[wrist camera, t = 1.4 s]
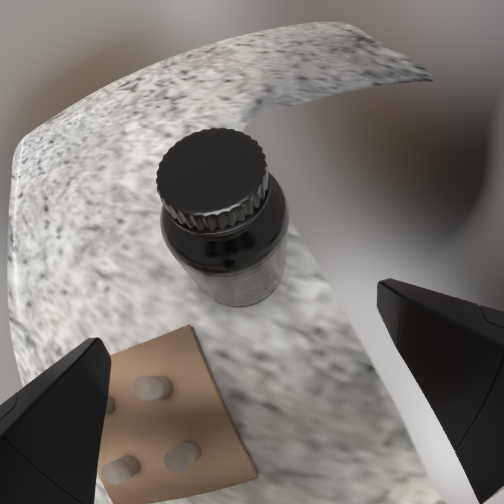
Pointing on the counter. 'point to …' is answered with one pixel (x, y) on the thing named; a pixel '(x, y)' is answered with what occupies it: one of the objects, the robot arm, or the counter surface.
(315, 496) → the counter surface
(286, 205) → the supplement bottle
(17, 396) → the robot arm
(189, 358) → the peg stand
